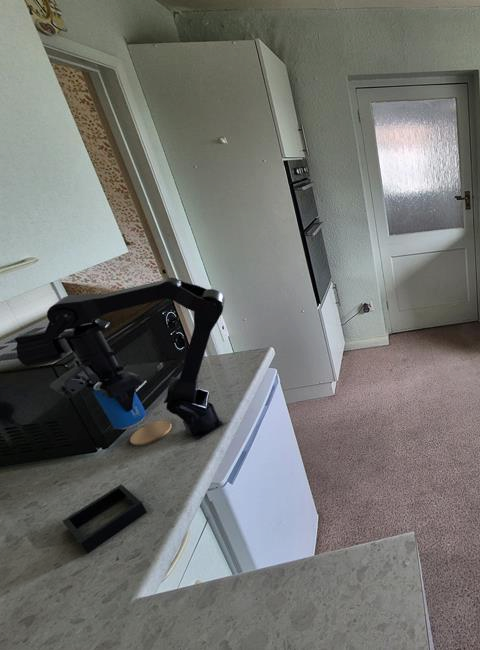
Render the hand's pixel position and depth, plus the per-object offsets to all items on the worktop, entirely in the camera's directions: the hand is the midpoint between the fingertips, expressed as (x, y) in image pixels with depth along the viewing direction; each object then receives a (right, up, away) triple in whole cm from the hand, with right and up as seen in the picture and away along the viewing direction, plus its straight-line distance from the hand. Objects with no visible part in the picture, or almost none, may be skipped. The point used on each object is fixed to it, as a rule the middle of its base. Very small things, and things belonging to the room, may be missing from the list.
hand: (122, 407), depth 91 cm
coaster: (-1, -10, +10) cm, 14 cm away
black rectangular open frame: (+10, -20, -14) cm, 26 cm away
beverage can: (0, -4, +2) cm, 5 cm away
